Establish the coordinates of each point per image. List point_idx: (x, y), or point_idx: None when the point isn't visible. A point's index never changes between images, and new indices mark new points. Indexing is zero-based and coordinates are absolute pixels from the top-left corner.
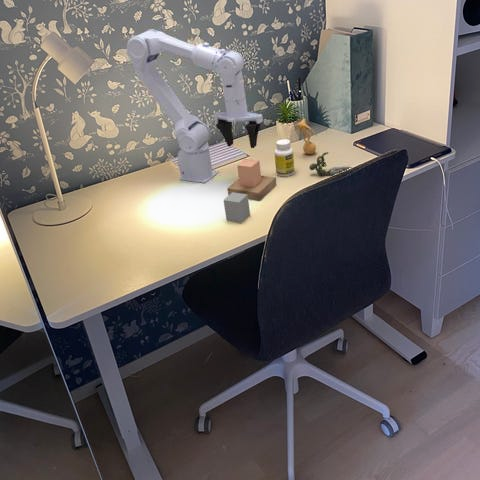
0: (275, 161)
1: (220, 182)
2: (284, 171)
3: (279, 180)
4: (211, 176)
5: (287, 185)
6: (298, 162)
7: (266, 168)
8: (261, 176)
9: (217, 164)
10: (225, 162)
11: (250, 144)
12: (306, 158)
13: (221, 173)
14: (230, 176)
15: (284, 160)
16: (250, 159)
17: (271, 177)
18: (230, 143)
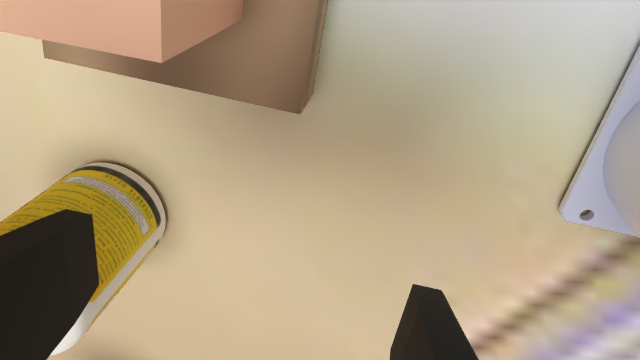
0: (104, 234)
1: (508, 57)
2: (71, 175)
3: (102, 114)
4: (606, 129)
5: (19, 47)
6: (118, 316)
7: (251, 262)
8: (151, 66)
9: (590, 321)
10: (537, 341)
11: (45, 232)
12: (104, 350)
13: (533, 201)
14: (451, 159)
15: (11, 217)
16: (85, 45)
17: (71, 53)
18: (407, 328)
